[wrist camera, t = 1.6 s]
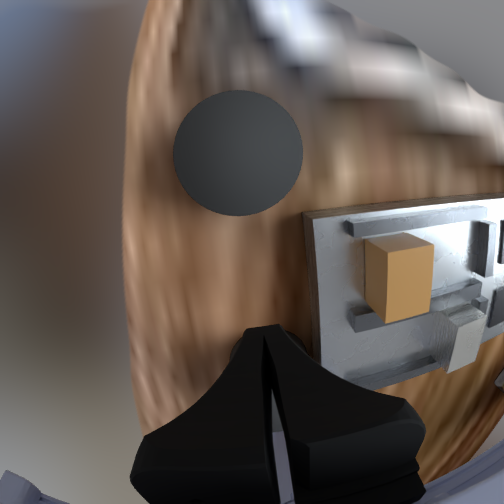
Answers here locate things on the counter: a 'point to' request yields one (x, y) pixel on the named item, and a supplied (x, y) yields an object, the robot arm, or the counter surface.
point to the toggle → (398, 276)
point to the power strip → (442, 294)
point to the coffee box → (500, 381)
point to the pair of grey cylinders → (239, 160)
